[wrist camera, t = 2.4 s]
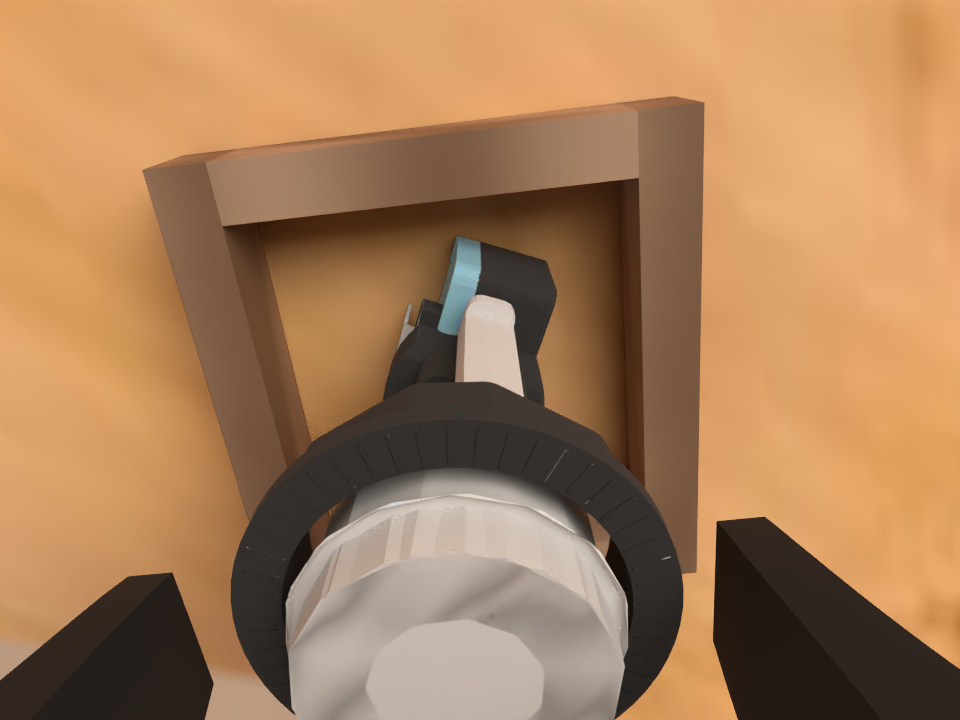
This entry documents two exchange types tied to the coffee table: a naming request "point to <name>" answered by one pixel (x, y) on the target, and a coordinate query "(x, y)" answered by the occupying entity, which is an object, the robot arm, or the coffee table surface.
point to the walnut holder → (437, 177)
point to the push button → (460, 536)
